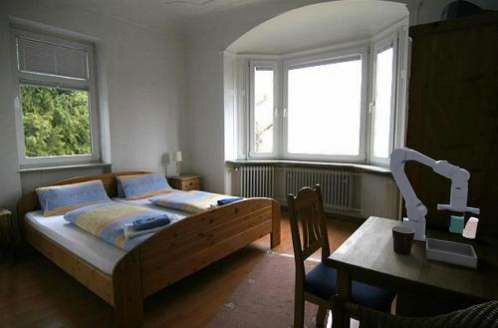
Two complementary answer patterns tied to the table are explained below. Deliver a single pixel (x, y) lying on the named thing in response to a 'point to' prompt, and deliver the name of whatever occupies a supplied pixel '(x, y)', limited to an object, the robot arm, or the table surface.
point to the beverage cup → (470, 228)
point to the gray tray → (451, 253)
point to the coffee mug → (402, 239)
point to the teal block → (456, 224)
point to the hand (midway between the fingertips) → (456, 227)
